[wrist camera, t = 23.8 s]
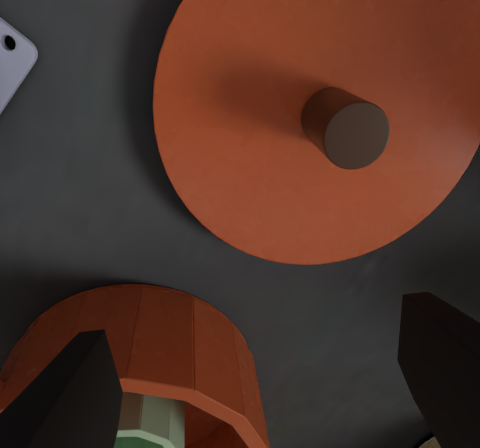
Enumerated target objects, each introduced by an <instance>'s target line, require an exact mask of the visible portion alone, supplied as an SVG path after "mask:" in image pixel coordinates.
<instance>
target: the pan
mask: <svg viewBox="0 0 480 448" xmlns="http://www.w3.org/2000/svg"><path fill="white" fill-rule="evenodd" d="M101 329H105V332H106V336H107V339H108V343H109V346H110V349H111V353H112V356H113V360H114V363H115V367H116V370H117V373H118V377H119V380H120V384H121V387H122V390H123V392H132V393H138V394H144V395H151V396H157V397H163V398H170V399H176V400H182V401H185V448H270V445H269V440H268V434H267V429H266V424H265V418H264V413H263V408H262V402H261V397H260V392H259V386H258V381H257V376H256V370H255V365H254V360H253V356H252V353H251V352H250V350H249V348H248V345H247V343H246V341H245V340H244V338H243V336H242V334H241V333H240V331H239V330H238V329H237V327H236V326H235V325H234V324H233V323H232V322H231V321H230V320H229V319H228V318H227V317H226V316H225V315H224V314H223V313H222V312H220V311H219V310H218V309H216V308H215V307H213V306H212V305H210V304H208V303H207V302H205V301H203V300H201V299H200V298H197V297H195V296H192V295H190V294H187V293H185V292H182V291H178V290H175V289H171V288H167V287H161V286H155V285H146V284H119V285H111V286H104V287H98V288H95V289H91V290H87V291H84V292H81V293H78V294H76V295H73V296H71V297H68V298H66V299H64V300H62V301H61V302H59V303H57V304H55V305H54V306H52V307H51V308H49V309H48V310H47V311H45V312H44V313H43V314H41V315H40V316H39V317H38V318H37V319H36V320H35V321H34V322H33V323H32V324H31V325H30V326H29V327H28V329H27V330H26V332H25V333H24V334H23V336H22V337H21V339H20V340H19V341H18V342H17V343H16V345H15V346H14V347H13V349H12V351H11V353H10V355H9V356H8V358H7V360H6V362H5V364H4V366H3V368H2V370H1V371H0V413H1V412H2V411H3V410H4V409H5V408H6V407H7V406H8V405H9V404H10V403H11V402H12V401H13V400H14V399H15V398H16V397H17V396H18V395H19V394H20V393H21V392H22V391H23V390H24V389H25V388H26V387H27V386H28V385H29V384H30V383H31V382H32V381H33V380H34V379H35V378H36V377H37V376H38V375H39V374H40V373H41V371H42V370H43V369H44V368H45V367H46V366H47V365H48V364H49V363H50V362H51V361H52V360H53V359H54V358H55V357H56V356H57V354H58V353H59V352H60V351H61V350H62V349H63V348H64V347H65V346H66V345H67V344H68V343H69V342H70V341H71V340H72V339H73V338H74V337H75V336H76V335H77V334H78V333H79V332H84V331H93V330H101Z"/></svg>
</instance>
